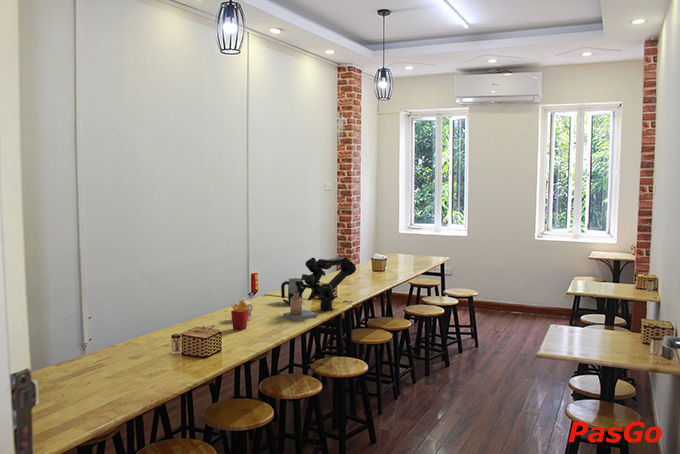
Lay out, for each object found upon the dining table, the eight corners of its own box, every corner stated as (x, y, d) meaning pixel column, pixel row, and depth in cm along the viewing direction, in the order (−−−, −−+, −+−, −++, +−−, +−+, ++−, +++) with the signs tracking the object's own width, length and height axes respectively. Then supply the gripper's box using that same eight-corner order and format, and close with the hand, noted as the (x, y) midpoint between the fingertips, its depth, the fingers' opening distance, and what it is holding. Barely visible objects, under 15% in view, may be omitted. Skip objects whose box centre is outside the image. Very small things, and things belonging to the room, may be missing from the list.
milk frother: (301, 300, 354) (301, 277, 353) (306, 305, 339) (306, 282, 338) (279, 301, 350) (279, 278, 349) (283, 306, 335) (284, 282, 334)
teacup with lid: (244, 322, 296) (244, 301, 296) (231, 319, 301) (231, 299, 300) (258, 317, 307) (258, 297, 306) (245, 315, 311) (245, 295, 310)
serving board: (304, 313, 319) (304, 309, 319) (317, 317, 310) (317, 313, 310) (283, 316, 310) (283, 313, 309) (295, 321, 300) (295, 317, 300)
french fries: (230, 330, 280) (230, 301, 279) (239, 326, 288) (239, 298, 287) (245, 332, 277) (245, 302, 276) (253, 328, 285) (253, 299, 283)
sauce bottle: (293, 312, 312) (293, 289, 311) (303, 313, 310) (303, 290, 308) (288, 314, 306) (288, 291, 305) (298, 316, 304) (298, 292, 303)
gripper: (297, 266, 320) (283, 288, 312) (321, 270, 308) (308, 292, 300) (306, 278, 327) (293, 299, 319) (330, 282, 315) (317, 304, 307)
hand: (302, 298), depth 311 cm, fingers open, 9 cm apart
